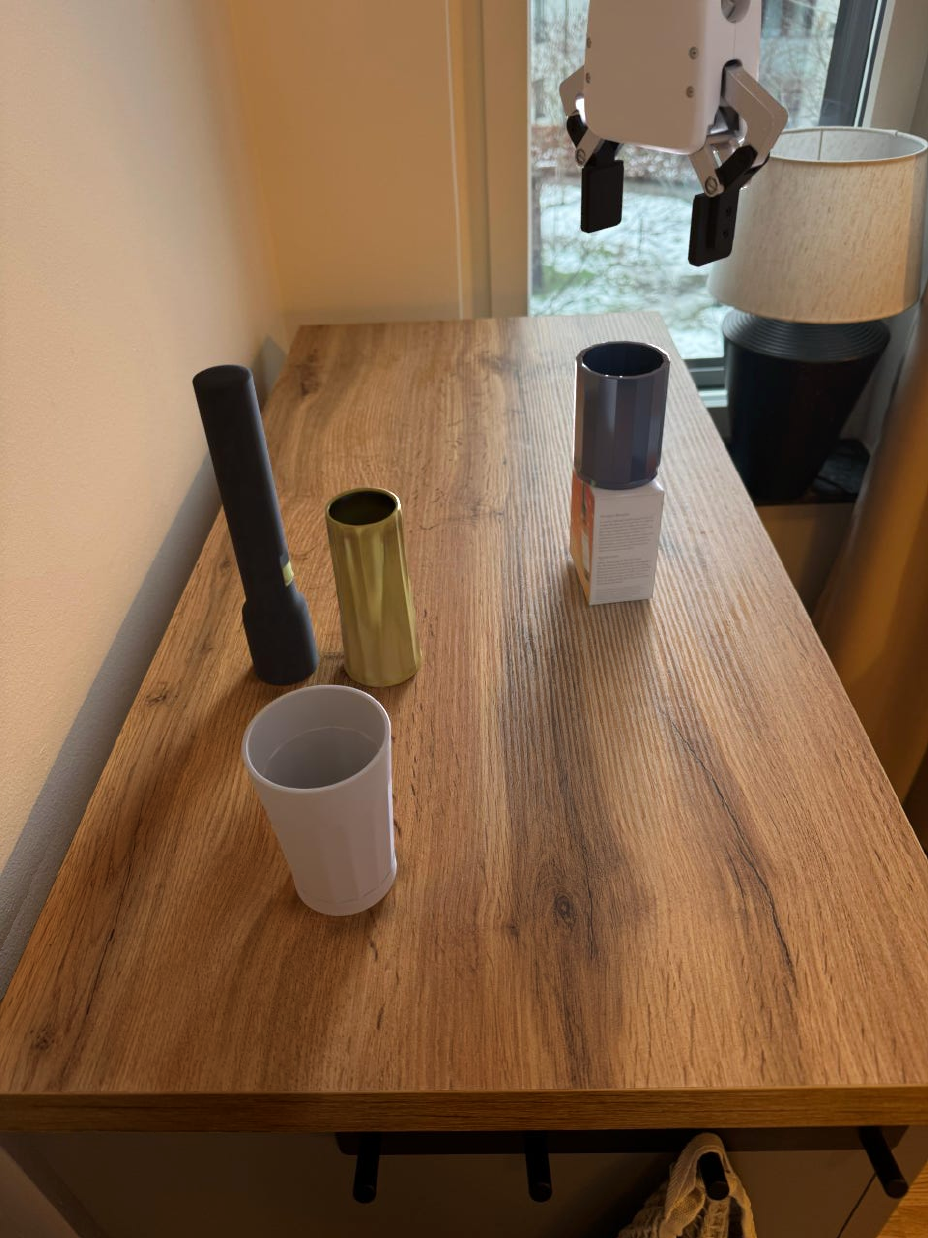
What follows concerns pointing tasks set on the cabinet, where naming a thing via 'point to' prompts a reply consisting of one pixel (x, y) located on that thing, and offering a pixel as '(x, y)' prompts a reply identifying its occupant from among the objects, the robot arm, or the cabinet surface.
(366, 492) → the vase
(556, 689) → the cabinet surface
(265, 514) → the flashlight
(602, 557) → the small box
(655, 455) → the tumbler
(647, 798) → the cabinet surface
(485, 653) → the cabinet surface
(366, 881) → the cup
